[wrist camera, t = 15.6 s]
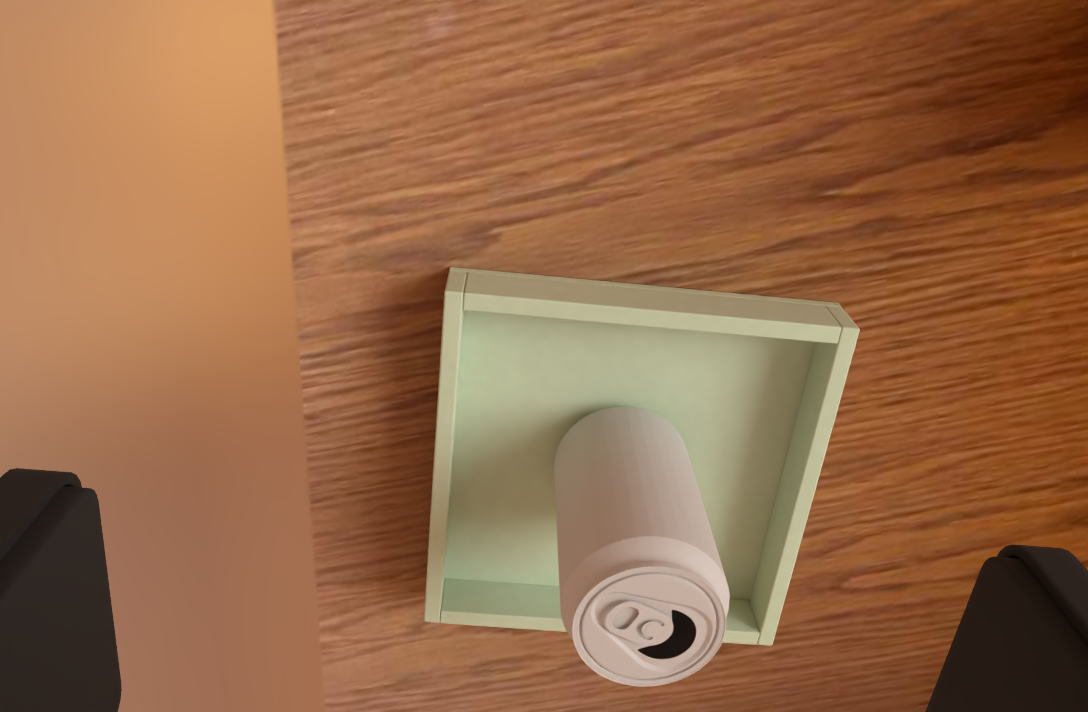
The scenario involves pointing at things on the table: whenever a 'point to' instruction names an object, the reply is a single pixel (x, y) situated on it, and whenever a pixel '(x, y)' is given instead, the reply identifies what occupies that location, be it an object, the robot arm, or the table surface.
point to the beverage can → (636, 550)
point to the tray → (623, 381)
